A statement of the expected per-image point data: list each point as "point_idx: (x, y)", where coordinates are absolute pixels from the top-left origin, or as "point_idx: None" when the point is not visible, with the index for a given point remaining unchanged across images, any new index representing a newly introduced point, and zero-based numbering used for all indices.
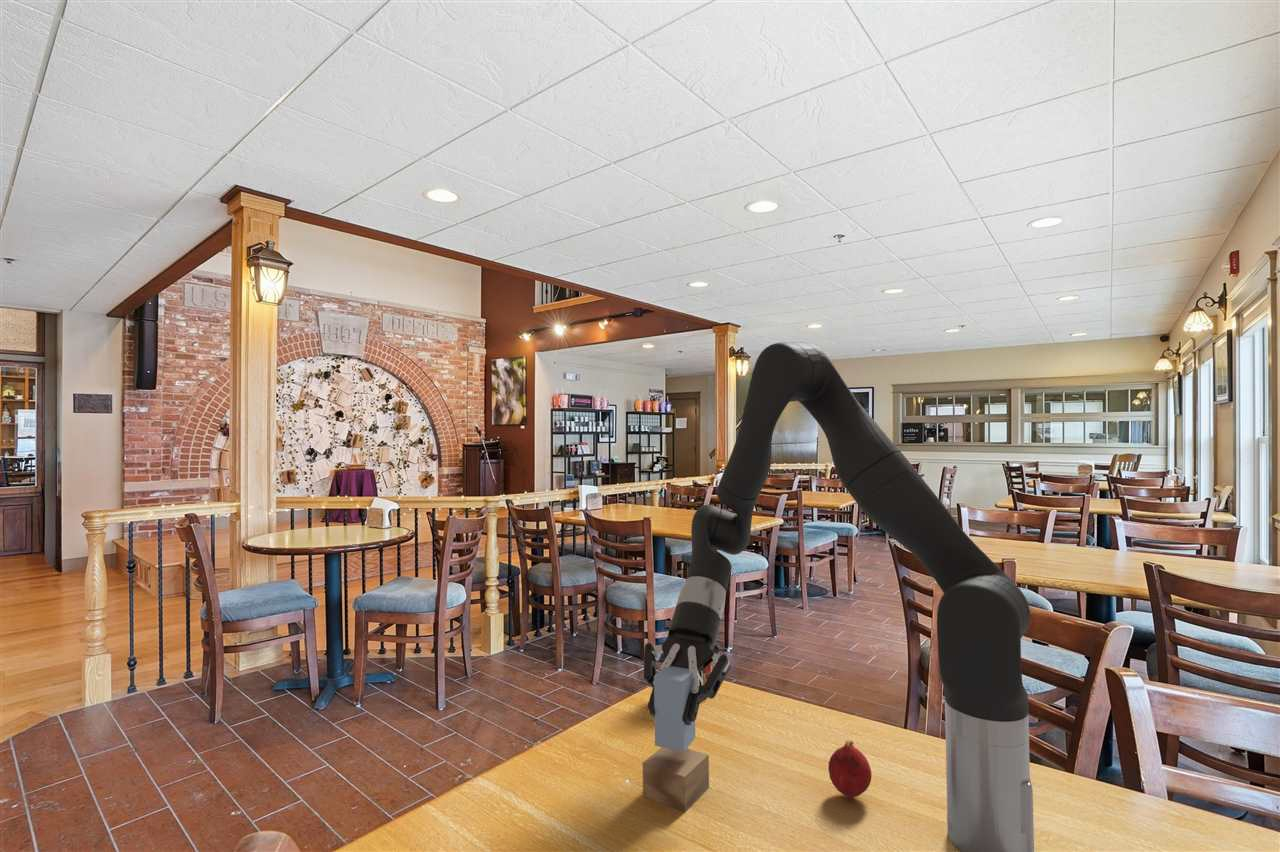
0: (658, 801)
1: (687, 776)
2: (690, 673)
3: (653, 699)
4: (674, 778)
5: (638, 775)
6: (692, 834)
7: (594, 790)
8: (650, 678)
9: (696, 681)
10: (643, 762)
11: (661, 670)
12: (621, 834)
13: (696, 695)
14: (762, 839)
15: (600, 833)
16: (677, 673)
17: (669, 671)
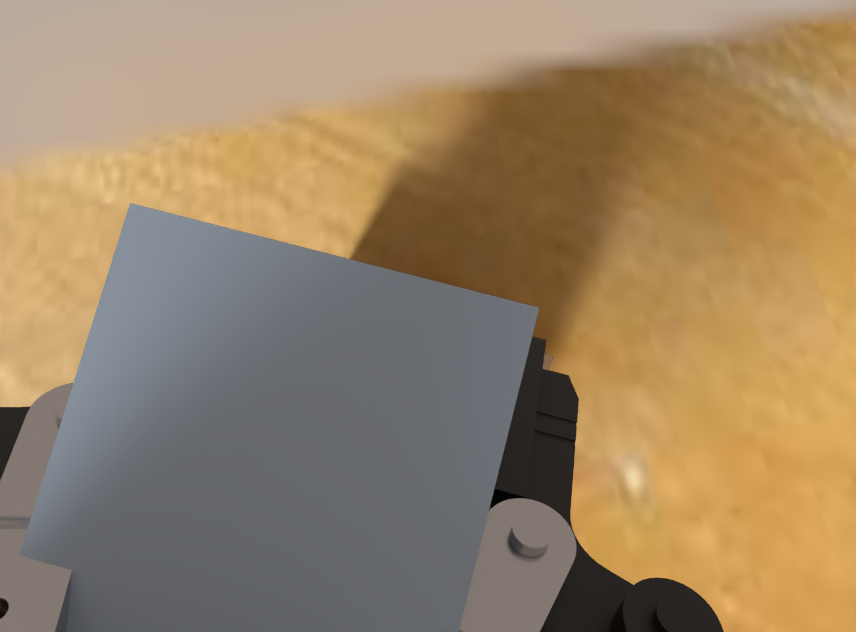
0: None
1: None
2: (47, 482)
3: (532, 404)
4: None
5: (591, 532)
6: (293, 151)
7: (762, 371)
8: (624, 599)
9: (25, 480)
10: (548, 357)
11: (471, 528)
12: (563, 102)
13: None
14: (31, 170)
15: (645, 93)
16: (228, 455)
17: (348, 502)
